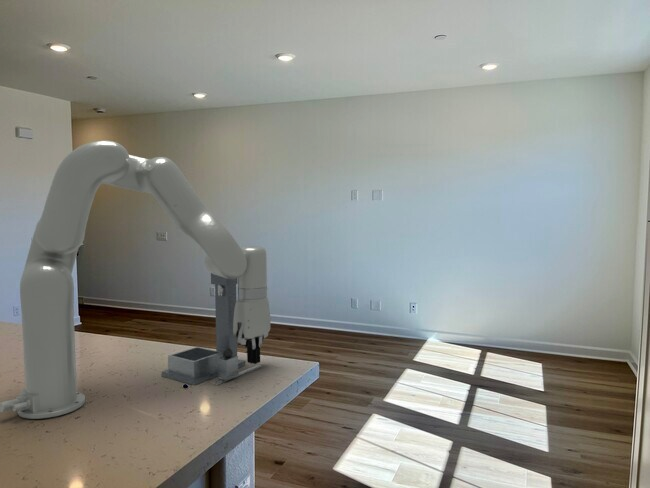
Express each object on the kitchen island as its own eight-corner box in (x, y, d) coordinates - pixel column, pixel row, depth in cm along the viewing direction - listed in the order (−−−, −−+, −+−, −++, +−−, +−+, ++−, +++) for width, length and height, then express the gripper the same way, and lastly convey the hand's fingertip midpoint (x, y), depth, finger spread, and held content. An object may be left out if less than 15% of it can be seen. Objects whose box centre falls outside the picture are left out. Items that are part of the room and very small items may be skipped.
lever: (226, 380, 116) (226, 351, 115) (218, 378, 117) (217, 349, 117) (238, 375, 119) (237, 347, 119) (229, 373, 121) (229, 345, 120)
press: (207, 389, 112) (205, 283, 110) (161, 376, 121) (159, 278, 119) (260, 367, 128) (259, 274, 126) (216, 357, 137) (215, 270, 135)
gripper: (260, 288, 133) (261, 353, 134) (221, 296, 121) (222, 367, 122) (281, 290, 129) (282, 357, 130) (243, 299, 116) (244, 373, 118)
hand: (253, 362), depth 126 cm, fingers closed
